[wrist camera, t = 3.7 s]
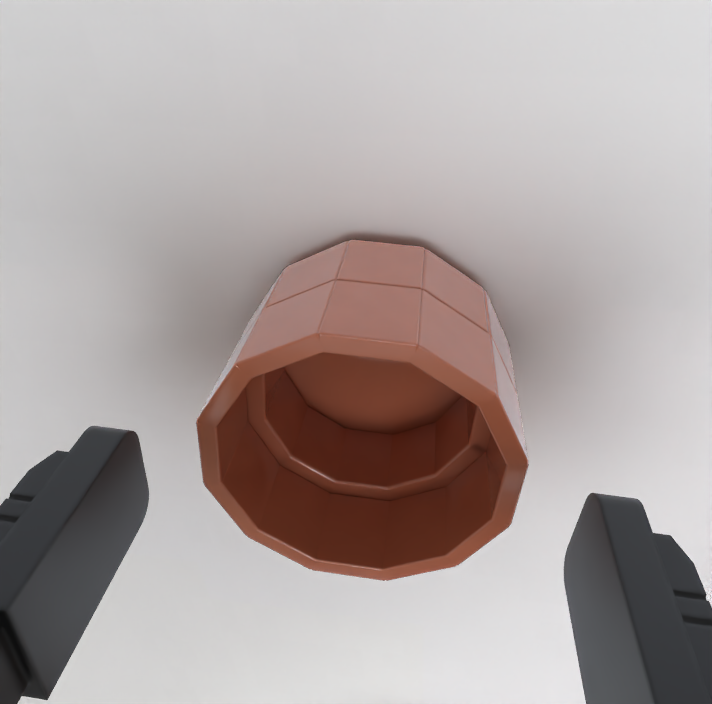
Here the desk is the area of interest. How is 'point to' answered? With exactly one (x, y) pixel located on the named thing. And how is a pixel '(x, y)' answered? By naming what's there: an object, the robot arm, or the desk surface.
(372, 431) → the bowl
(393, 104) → the desk surface
